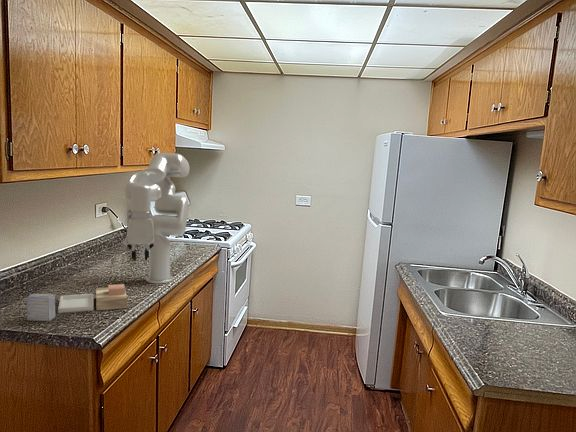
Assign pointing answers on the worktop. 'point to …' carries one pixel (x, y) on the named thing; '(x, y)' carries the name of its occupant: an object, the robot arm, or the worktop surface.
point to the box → (76, 303)
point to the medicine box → (41, 307)
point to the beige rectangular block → (109, 300)
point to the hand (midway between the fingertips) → (140, 259)
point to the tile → (116, 289)
